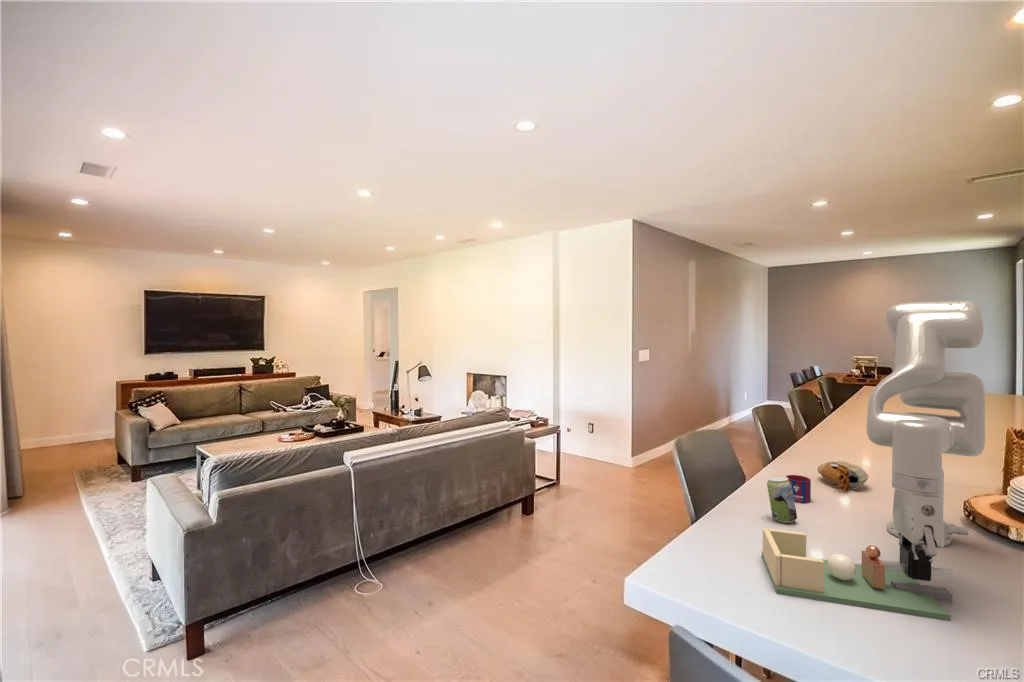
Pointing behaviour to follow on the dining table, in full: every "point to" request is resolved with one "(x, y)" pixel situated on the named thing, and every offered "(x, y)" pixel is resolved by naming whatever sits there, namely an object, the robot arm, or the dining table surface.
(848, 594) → the pitch
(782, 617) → the dining table surface
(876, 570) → the copper sphere contraption
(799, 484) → the mug
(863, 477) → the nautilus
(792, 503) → the beverage can
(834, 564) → the ball
